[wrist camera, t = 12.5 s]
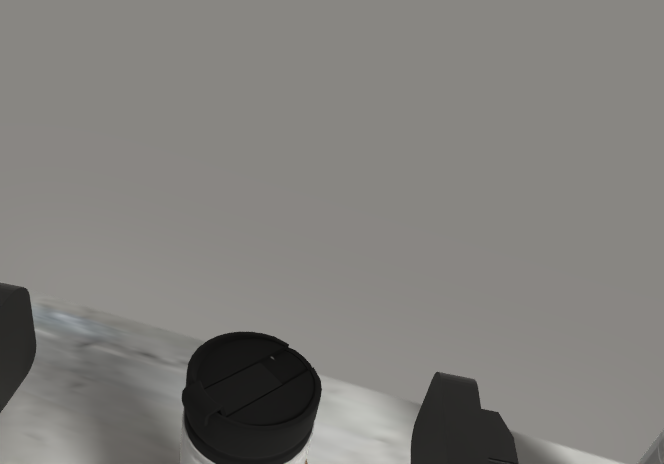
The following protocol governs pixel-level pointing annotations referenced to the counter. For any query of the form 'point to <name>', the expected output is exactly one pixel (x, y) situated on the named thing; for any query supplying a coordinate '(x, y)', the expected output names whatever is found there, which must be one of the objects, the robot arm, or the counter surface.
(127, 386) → the counter surface
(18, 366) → the robot arm
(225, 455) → the travel mug
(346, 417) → the counter surface
